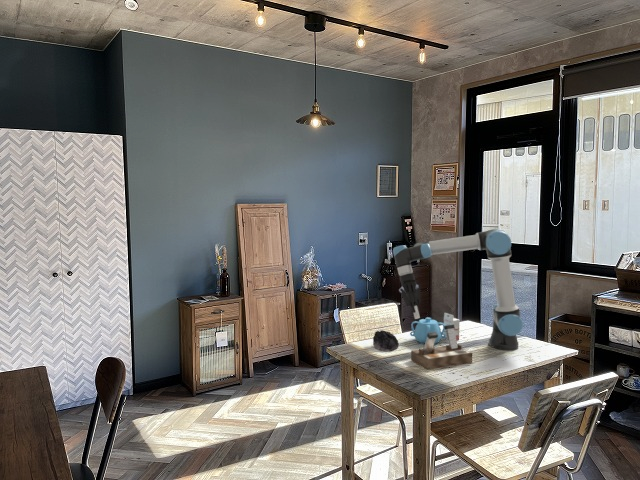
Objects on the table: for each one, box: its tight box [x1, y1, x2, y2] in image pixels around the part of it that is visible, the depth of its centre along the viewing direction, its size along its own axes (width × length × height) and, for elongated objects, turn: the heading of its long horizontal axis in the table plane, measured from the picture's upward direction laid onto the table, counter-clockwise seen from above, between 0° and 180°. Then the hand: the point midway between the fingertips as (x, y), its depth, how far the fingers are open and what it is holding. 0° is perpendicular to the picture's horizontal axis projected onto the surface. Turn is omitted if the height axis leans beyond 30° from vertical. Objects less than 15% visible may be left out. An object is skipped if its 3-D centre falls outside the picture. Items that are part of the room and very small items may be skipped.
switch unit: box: [410, 343, 473, 371], centre depth 238 cm, size 26×14×7 cm, turn 112°
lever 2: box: [444, 325, 458, 349], centre depth 244 cm, size 5×2×12 cm, turn 112°
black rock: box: [372, 329, 400, 352], centre depth 261 cm, size 13×14×10 cm
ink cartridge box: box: [442, 312, 461, 341], centre depth 277 cm, size 9×5×15 cm, turn 25°
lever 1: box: [422, 332, 438, 354], centre depth 233 cm, size 5×2×12 cm, turn 112°
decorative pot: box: [409, 316, 446, 345], centre depth 272 cm, size 16×16×14 cm
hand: (417, 318), depth 251 cm, fingers closed
